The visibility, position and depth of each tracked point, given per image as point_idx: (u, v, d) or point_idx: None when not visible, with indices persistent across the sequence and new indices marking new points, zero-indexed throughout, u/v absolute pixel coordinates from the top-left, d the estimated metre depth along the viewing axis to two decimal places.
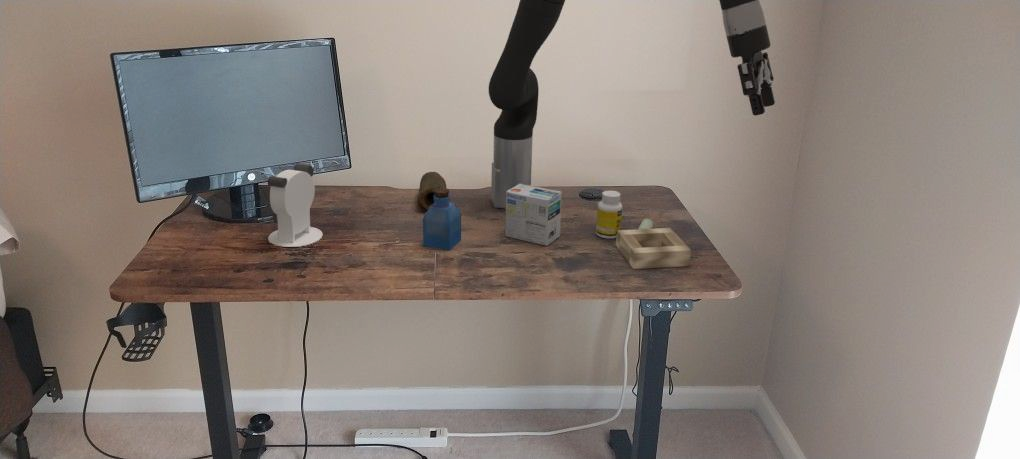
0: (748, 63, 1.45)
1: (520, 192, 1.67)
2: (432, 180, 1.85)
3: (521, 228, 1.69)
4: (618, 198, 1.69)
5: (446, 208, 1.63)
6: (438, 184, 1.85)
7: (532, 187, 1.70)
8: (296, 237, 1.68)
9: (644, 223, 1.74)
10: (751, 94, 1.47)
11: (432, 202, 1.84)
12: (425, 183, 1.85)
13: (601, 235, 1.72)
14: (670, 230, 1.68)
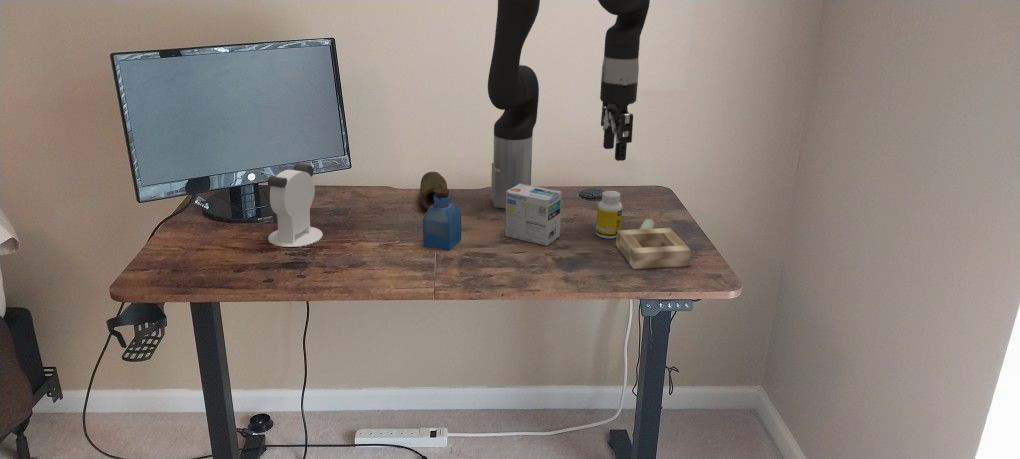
0: (631, 115, 1.57)
1: (520, 192, 1.67)
2: (433, 180, 1.85)
3: (521, 228, 1.69)
4: (618, 198, 1.69)
5: (446, 208, 1.63)
6: (439, 184, 1.85)
7: (532, 187, 1.70)
8: (296, 237, 1.68)
9: (647, 223, 1.74)
10: (624, 142, 1.60)
11: (433, 202, 1.85)
12: (426, 183, 1.85)
13: (601, 235, 1.72)
14: (670, 230, 1.68)
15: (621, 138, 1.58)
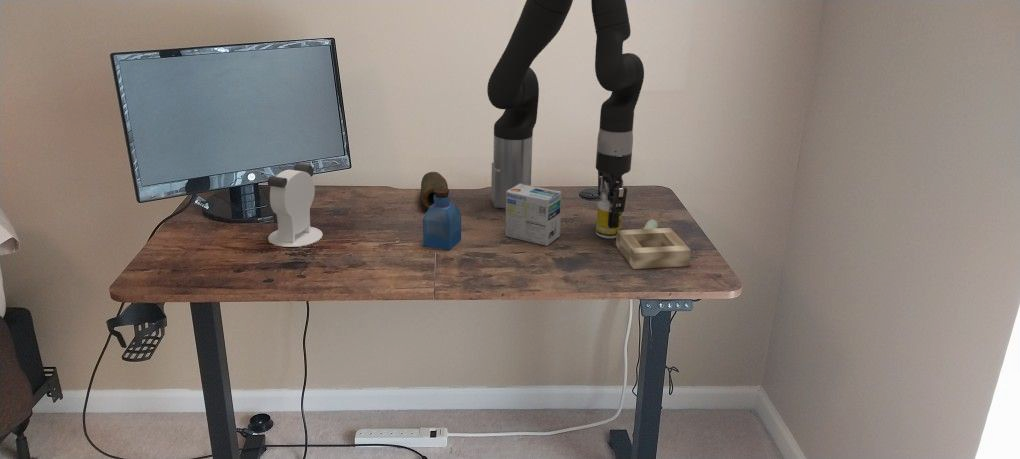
0: (625, 190, 1.63)
1: (520, 192, 1.67)
2: (434, 180, 1.85)
3: (521, 228, 1.69)
4: None
5: (446, 208, 1.63)
6: (440, 184, 1.85)
7: (532, 187, 1.70)
8: (296, 237, 1.68)
9: (654, 226, 1.74)
10: (617, 212, 1.67)
11: (434, 202, 1.85)
12: (427, 183, 1.85)
13: (601, 235, 1.72)
14: (670, 230, 1.68)
15: (614, 208, 1.65)
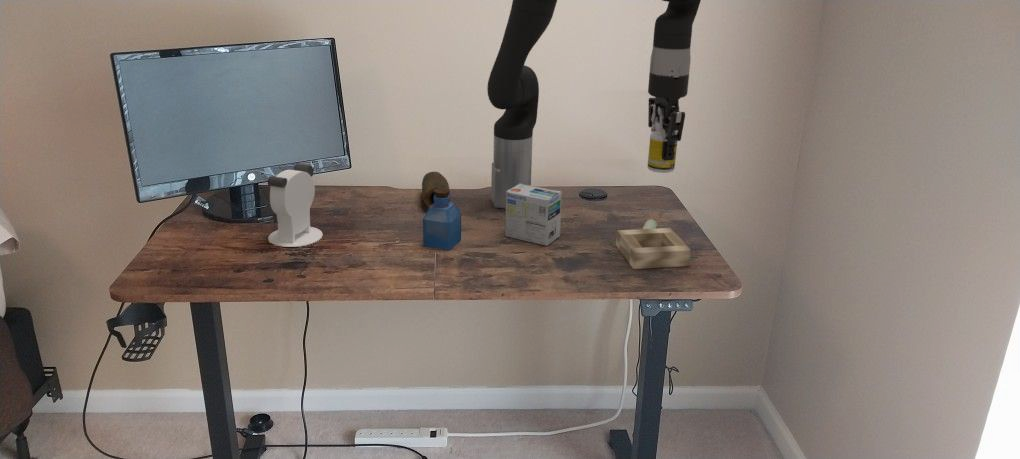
0: (683, 115, 1.46)
1: (520, 192, 1.67)
2: (436, 180, 1.85)
3: (521, 228, 1.69)
4: None
5: (446, 208, 1.63)
6: (442, 184, 1.85)
7: (532, 187, 1.70)
8: (296, 237, 1.68)
9: (652, 225, 1.74)
10: (673, 141, 1.50)
11: None
12: (429, 183, 1.85)
13: (654, 169, 1.55)
14: (670, 230, 1.68)
15: (670, 136, 1.48)
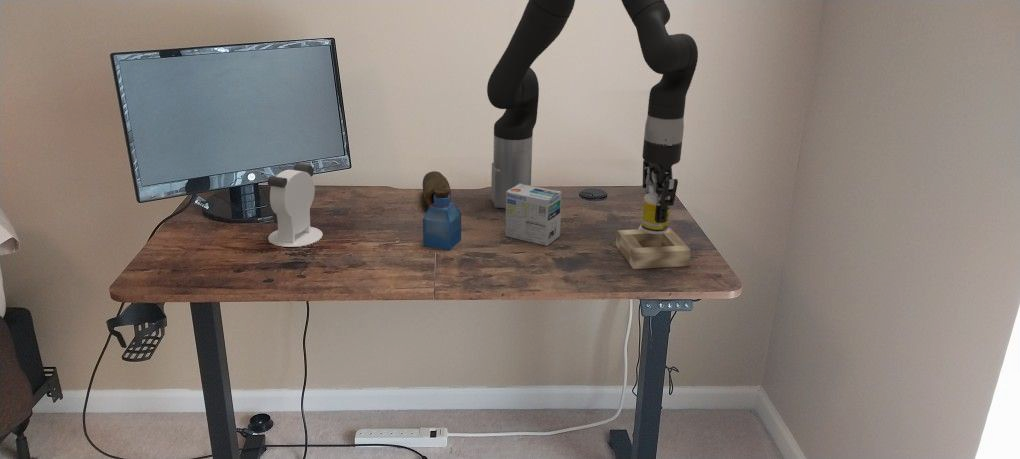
0: (676, 182, 1.51)
1: (520, 192, 1.67)
2: (437, 180, 1.85)
3: (521, 228, 1.69)
4: None
5: (446, 208, 1.63)
6: (443, 183, 1.85)
7: (532, 187, 1.70)
8: (296, 237, 1.68)
9: None
10: None
11: None
12: (430, 183, 1.85)
13: (647, 230, 1.60)
14: (670, 230, 1.68)
15: (663, 201, 1.53)
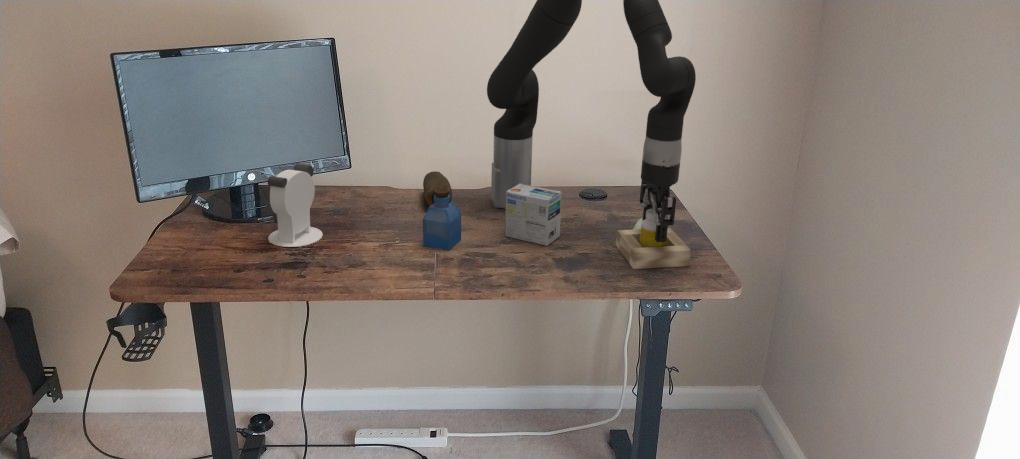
0: (674, 199, 1.52)
1: (520, 192, 1.67)
2: (438, 180, 1.86)
3: (521, 228, 1.69)
4: None
5: (446, 208, 1.63)
6: (444, 183, 1.85)
7: (532, 187, 1.70)
8: (296, 237, 1.68)
9: None
10: (666, 225, 1.55)
11: None
12: (431, 183, 1.85)
13: None
14: (670, 230, 1.68)
15: (663, 221, 1.54)
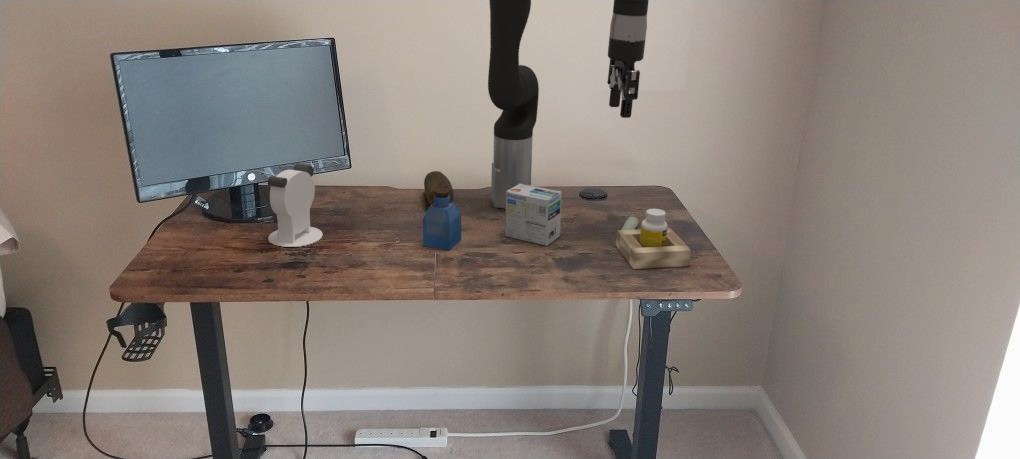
0: (638, 72, 1.59)
1: (520, 192, 1.67)
2: (439, 180, 1.86)
3: (521, 228, 1.69)
4: (664, 217, 1.60)
5: (446, 208, 1.63)
6: (445, 183, 1.85)
7: (532, 187, 1.70)
8: (296, 237, 1.68)
9: None
10: (630, 99, 1.61)
11: None
12: (432, 183, 1.85)
13: None
14: (670, 230, 1.68)
15: (627, 94, 1.60)
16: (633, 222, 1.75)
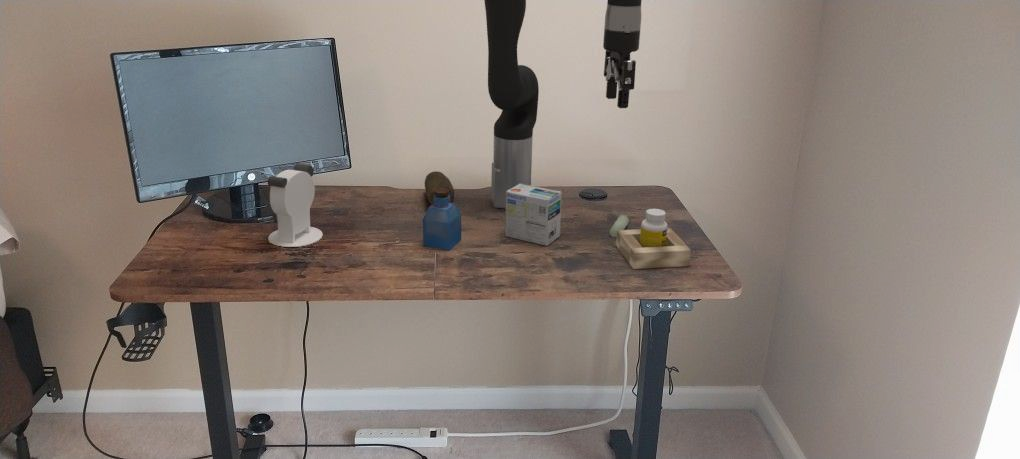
0: (634, 62, 1.60)
1: (520, 192, 1.67)
2: (440, 180, 1.86)
3: (521, 228, 1.69)
4: (664, 217, 1.60)
5: (446, 208, 1.63)
6: (446, 183, 1.85)
7: (532, 187, 1.70)
8: (296, 237, 1.68)
9: (625, 225, 1.76)
10: (627, 89, 1.63)
11: None
12: (433, 183, 1.85)
13: None
14: (670, 230, 1.68)
15: (624, 85, 1.61)
16: None
